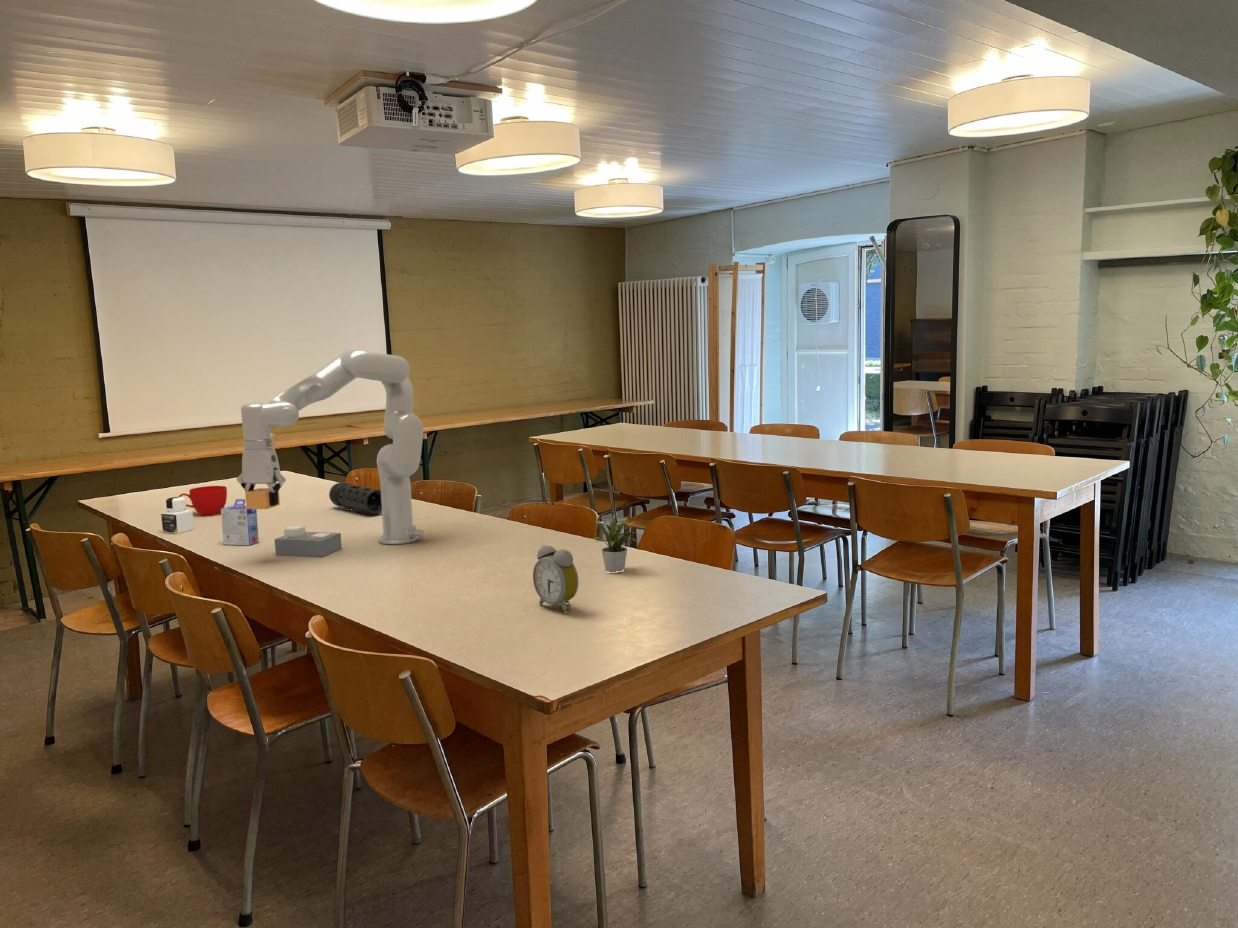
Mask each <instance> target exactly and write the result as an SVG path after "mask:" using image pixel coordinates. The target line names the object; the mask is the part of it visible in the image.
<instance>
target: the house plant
mask: <svg viewBox="0 0 1238 928" xmlns="http://www.w3.org/2000/svg"><path fill="white" fill-rule="evenodd" d="M615 517H616V513H614V515H613V517H612V520H611V518H609V519H608V520H609V524H607V522H606V520H604V519H602V518H600V517H599V519H601V520H603V522H604V523H605V525H603V524H602V522H601V521H600V520H597V519H596V521H595V522H593V521H592V523H593V524H595V525H597V526H598V528H599V530H600V531H602V534H604V536H605V539H606V540H604V539H603V538H601V537H599V536H596V537H594V538H593V539H592V541H594V540H595V541H594V543H596V542H603V543H605V545H606V546H605V547H602V548H601V554H602V558H603V564H604V569H605V572H606V571H609V572H616V571H622V570H623V569H624V570H625V566H626V560H627V553H628V548H627V547H625V546H623V545H624V544H625V543H630V544H631V545H632V541H631V540H633V541H634V542H635V543H636V542H637V540H636V539H635V538H633V537H629V536H631V535H634V534H637V532H636V531H628V532H627V531H626V532H622V530H623V531H625V530H626V529H627V528H628V527H629V526H630V525H631V524H633V523H635V522H637V521H631V523H630V524H628V525H626V521H627V520H628V518H629V516H624V517H623V518H622V519H621V520H619V522H618V523H617V525H616V527H615V522H616V521H615ZM587 522H588V523H590V522H591V521H588V520H587ZM606 528H607V530H606Z"/></svg>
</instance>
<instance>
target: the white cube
mask: <svg viewBox="0 0 1238 928" xmlns="http://www.w3.org/2000/svg"><path fill="white" fill-rule="evenodd" d="M283 532H284V535H285V537H293V538H298V537H301V536H303V535H306V534H305V532H306V526H303V525H302V526H301V525H298V526H297V525H292V526H289V527H286V528H284V529H283Z"/></svg>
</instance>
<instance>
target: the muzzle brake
mask: <svg viewBox="0 0 1238 928" xmlns="http://www.w3.org/2000/svg"><path fill="white" fill-rule="evenodd" d="M328 497H329V499H330V502H331V503H332V504H333V505H335V506H336V507H340V508H345V510H346V509H350V510H349V511H352V510H351V509H353V511H358V513H362V514H366V515H370V516H375V517H377V516H379V514H380V513H382V505H381V489H380V490H379V489H376V488H375V489H374V488H369V487H366V486H360V485H355V484H351V483H348V482H343V481H342V482H337V483H335V484H333V485H332V486H331V487H330V488H329V491H328Z"/></svg>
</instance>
